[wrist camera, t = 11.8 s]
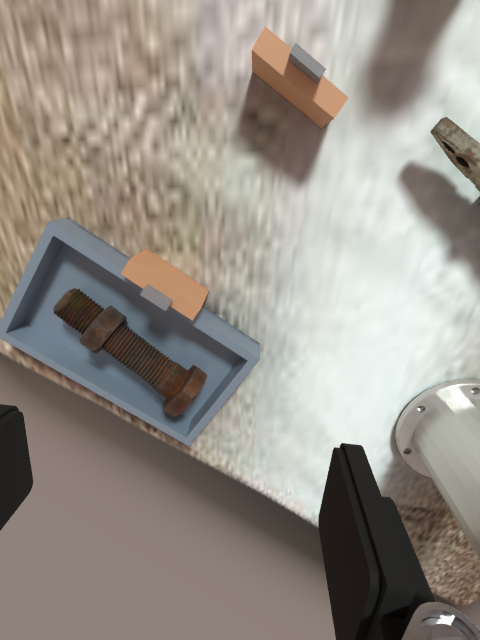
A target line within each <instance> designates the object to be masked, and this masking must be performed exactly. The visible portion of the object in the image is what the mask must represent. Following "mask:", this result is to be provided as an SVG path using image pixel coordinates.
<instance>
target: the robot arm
mask: <svg viewBox="0 0 480 640" xmlns="http://www.w3.org/2000/svg"><path fill="white" fill-rule="evenodd" d="M395 439H396V445H397V448H398V450H399V452H400V454H401V456H402V457H403V459H404V461H405V462H406V463H407V464H408V465H409V466H410V467H411V468H412V469H413V470H415V471H416V472H418V473H419V474H422V475H424V476H427V477H429V478H431V479H432V480H433V482H434V484H435V485H436V487H437V489H438V490H439V492H440V494H441V496H442V497H443V499H444V501H445V502H446V504H447V506H448V507H449V509H450V511H451V512H452V514H453V516H454V517H455V519H456V521H457V523H458V524H459V526H460V528H461V529H462V531H463V533H464V534H465V536H466V538H467V539H468V541H469V543H470V544H471V546H472V548H473V550H474V551H475V553H476V555H477V556H478V558H479V560H480V381H478V380H466V379H463V380H454V381H449V382H445V383H441V384H439V385H436V386H434V387H432V388H429V389H428V390H426V391H424V392H423V393H421V394H420V395H418V396H417V397H416V398H415V399H414V400H412V401H411V402H410V403H409V404H408V406H407V407H406V408H405V409H404V411H403V412H402V414H401V416H400V418H399V420H398V423H397V426H396V433H395ZM32 485H33V478H32V470H31V464H30V457H29V450H28V444H27V437H26V430H25V423H24V417H23V414H22V412H19V409H18V408H17V407H16V406H10V405H2V404H0V530H1V529H2V528H3V526H4V525H5V524H6V523H7V521H8V520H9V519H10V517H11V516H12V515H13V514H14V512H15V511H16V510H17V508H18V507H19V506H20V504H21V503H22V502H23V501H24V499H25V498H26V497H27V496H28V494H29V493H30V491H31V488H32ZM319 533H320V539H321V546H322V553H323V558H324V565H325V572H326V578H327V584H328V591H329V597H330V603H331V610H332V616H333V622H334V629H335V635H336V640H480V631H479V629H478V628H477V627H476V626H475V624H474V623H473V622H471V621H470V620H469V619H468V618H467V617H466V616H464V615H463V614H462V613H460V612H459V611H457V610H456V609H454V608H452V607H451V606H447V605H445V604H442V603H439V602H435V600H434V598H433V595H432V593H431V590H430V588H429V585H428V583H427V580H426V578H425V576H424V573H423V571H422V568H421V566H420V563H419V561H418V559H417V556H416V554H415V551H414V549H413V547H412V544H411V542H410V539H409V537H408V534H407V532H406V530H405V527H404V525H403V522H402V520H401V517H400V515H399V513H398V510H397V508H396V505H395V503H394V502H393V500H392V499H391V498H390V497H382V496H381V494H380V491H379V488H378V486H377V483H376V481H375V478H374V475H373V473H372V470H371V467H370V465H369V462H368V459H367V457H366V454H365V451H364V449H363V447H362V446H361V445H353V444H345V443H342V444H341V445H340V448H334V449H333V453H332V458H331V462H330V467H329V471H328V476H327V481H326V485H325V490H324V495H323V499H322V504H321V508H320V513H319Z"/></svg>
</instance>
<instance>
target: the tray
mask: <svg viewBox="0 0 480 640" xmlns="http://www.w3.org/2000/svg"><path fill="white" fill-rule="evenodd" d="M129 259H131V258H129V257H128V256H126V255H125V254H123V253H122V252H120V251H119V250H117V249H116V248H114V247H113V246H111V245H110V244H108V243H107V242H105V241H104V240H102V239H101V238H99V237H98V236H96V235H95V234H93V233H92V232H90V231H89V230H87V229H85V228H84V227H82V226H81V225H79V224H78V223H76V222H75V221H73V220H72V219H70V218H64V219H59V220H54V221H48V223H47V225H46V227H45V230H44V232H43V234H42V236H41V238H40V240H39V242H38V244H37V246H36V248H35V251H34V253H33V255H32V257H31V259H30V261H29V263H28V265H27V267H26V269H25V272H24V274H23V276H22V278H21V280H20V282H19V284H18V286H17V288H16V290H15V293H14V295H13V297H12V299H11V301H10V303H9V305H8V307H7V309H6V311H5V313H4V316H3V318H2V320H1V322H0V338H1V339H2V340H4V341H6V342H8V343H9V344H11V345H13V346H15V347H16V348H18V349H20V350H22V351H23V352H25V353H27V354H29V355H30V356H32V357H34V358H35V359H37V360H39V361H41V362H42V363H44V364H46V365H48V366H49V367H51V368H53V369H55V370H56V371H58V372H60V373H62V374H63V375H65V376H67V377H69V378H70V379H72V380H74V381H76V382H77V383H79V384H81V385H83V386H84V387H86V388H88V389H90V390H91V391H93V392H95V393H97V394H98V395H100V396H102V397H104V398H105V399H107V400H109V401H110V402H112V403H114V404H116V405H117V406H119V407H121V408H123V409H124V410H126V411H128V412H130V413H131V414H133V415H135V416H137V417H138V418H140V419H142V420H144V421H145V422H147V423H149V424H151V425H152V426H154V427H156V428H158V429H159V430H161V431H163V432H165V433H166V434H168V435H170V436H172V437H173V438H175V439H177V440H178V441H180V442H182V443H184V444H185V445H187V446H190V444H191V443H192V442H193V441H194V439H195V438H196V437H197V436H198V434H199V433H200V432H201V431H202V430H203V428H204V427H205V426H206V425H207V423H208V422H209V421H210V420H211V419H212V417H213V416H214V415H215V414H216V412H217V411H218V410H219V409H220V408H221V406H222V405H223V404H224V403H225V401H226V400H227V399H228V398H229V397H230V395H231V394H232V393H233V392H234V390H235V389H236V388H237V387H238V385H239V384H240V383H241V382H242V381H243V379H244V378H245V377H246V376H247V374H248V373H249V372H250V371H251V370H252V368H253V367H254V366H255V365H256V363H257V362H258V361H259V360H260V343H258V342H257V341H255V340H254V339H252V338H251V337H249V336H248V335H246V334H245V333H243V332H242V331H240V330H239V329H237V328H236V327H234V326H232V325H231V324H229V323H228V322H226V321H225V320H223V319H222V318H220V317H219V316H217V315H216V314H214V313H213V312H211V311H210V310H208V309H207V308H205V307H204V306H202V308H201V309H200V311H199V312H198V313H197V315H196V316H195V318H194V319H193V321H192V320H191V319H189V318H188V317H186V316H185V315H183V314H181V313H180V312H178V311H177V310H175V309H174V308H172V307H171V306H169V307H168V309H167V310H166V311H164V310H163V309H161V308H160V307H158V306H157V305H155V304H153V303H152V302H150V301H149V300H147V299H146V298H144V297H143V296H141V295H140V294H141V292H142V290H143V288H141V287H140V286H138V285H137V284H135V283H134V282H132V281H131V280H129V279H127V278H126V277H124V276H123V275H121V273H122V271H123V269H124V267H125V266H126V264H127V262H128V261H129ZM73 288H76V289H80V292H81V291H83V294H86V296H89V299H91V298H92V301H95V303H98V305H101V308H102V307H104V310H105V309H106V308H107V307H109V306H113V307H114V308H115V309H117V310H118V311H119V312H121V313H122V314H123V315H125V316H126V317H127V319H126V321H125V322H124V325H127V328H128V327H130V330H132V329H133V332H135V334H138V336H141V339H142V338H144V341H145V340H147V343H148V342H150V343H149V345H151V344H152V347H155V349H158V351H161V353H164V354H163V355H166V357H169V359H172V361H174V362H177V363H178V364H180V365H181V366H182V367H184V368H185V369H186V370H189V369H190V368H191V367H192V365H195V366H197V367H198V368H200V369H201V370H202V371H203V372H205V373H206V374H207V379H206V382H205V384H204V386H203V388H202V390H201V391H200V393H199V394H198V395H197V397H196V398H195V400H194V401H193V402H192V403H191V404H190V406H189V407H188V408H187V409H186V410H185V411H184V412H183V413H182V414H180V415H179V416H177V417H172V416H171V415H170V414H168V413H167V412H166V411H164V409H163V406H162V404H163V403H164V401H165V400H166V398H165V397H163V396H162V395H160V394H159V393H158V392H156V391H155V389H154V388H153V387H151V385H149V382H148V383H146V380H145V381H143V378H141V379H140V376H138V373H137V374H135V371H134V372H132V369H131V370H129V367H128V368H126V365H125V366H123V363H121V364H120V361H117V359H114V357H111V354H110V355H108V352H107V353H105V350H101V351H99V352H98V353H93V352H91V351H90V350H89V349H87V348H86V347H85V346H83V345H82V344H81V343H80V338H81V337H82V335H81V332H80V333H78V330H75V328H72V326H69V323H68V324H67V323H66V321H63V319H60V317H57V315H55V314H54V309H53V308H54V306H55V305H56V303H57V302H58V301H59V300H60V299H61V298H62V296H63V295H64V294H65V293H66V292H67V291H69V290H72V289H73ZM102 349H103V348H102Z"/></svg>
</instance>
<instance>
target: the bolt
mask: <svg viewBox="0 0 480 640" xmlns="http://www.w3.org/2000/svg"><path fill="white" fill-rule="evenodd" d="M53 309H54V314H55V315H57V317H60V319H63V321H66V323H67V324H68V323H69V326H72V328H75V330H78V333H80V332H81V335H82V337H81V338H80V343H81V344H82V345H83V346H85V347H86V348H87V349H89V350H90V351H91V352H93V353H98V352H99V351H101V350H105V353H107V352H108V355H110V354H111V357H114V359H117V361H120V364H121V363H123V366H125V365H126V368H128V367H129V370H131V369H132V372H134V371H135V374H137V373H138V376H140V379H141V378H143V381H145V380H146V383H148V382H149V385H151V387H153V388H154V389H155V391H156V392H158V393H159V394H160V395H162V396H163V397H165V398H166V400H165V401H164V403H163V404H162V406H163V409H164V411H166V412H167V413H168V414H170V415H171V416H172V417H177V416H179V415H180V414H182V413H183V412H184V411H185V410H186V409H187V408H188V407H189V406H190V404H191V403H192V402H193V401H194V400H195V398H196V397H197V395H198V394H199V393H200V391H201V390H202V388H203V386H204V384H205V382H206V379H207V374H206V373H205V372H203V371H202V370H201V369H200V368H198V367H197V366H195V365H192V367H191V368H190V369H189V370H186V369H185V368H184V367H182V366H181V365H180V364H178V363H177V362H174V361H172V359H169V357H166V355H163V354H164V353H161V351H158V349H155V347H152V344H151V345H149V343H150V342H148V343H147V340H145V341H144V338H142V339H141V336H138V334H135V332H133V329H132V330H130V327H128V328H127V325H124V322H125V321H126V319H127V317H126V316H125V315H123V314H122V313H121V312H119V311H118V310H117V309H115V308H114V307H113V306H109V307H107V308H106V309H105V310H104V307H102V308H101V305H98V303H95V301H92V298H91V299H89V296H86V294H83V291H81V292H80V289H76V288H73V289H72V290H69V291H67V292H66V293H65V294H64V295H63V296H62V298H61V299H60V300H59V301H58V302H57V303H56V305H55V306H54V308H53ZM102 348H103V349H102Z"/></svg>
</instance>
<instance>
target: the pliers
mask: <svg viewBox="0 0 480 640" xmlns="http://www.w3.org/2000/svg"><path fill="white" fill-rule="evenodd" d="M431 134H432V135H433V136H434V138H435V139H436V141H437V142H438V144H439V145H440V147H441V148H442V149H443V150H444V152H445V153H446V155H447V156H448V158H449V159H450V160H451V162H452V163H453V164H454V165H455V166H456V167H457V168H458V169H459V170H460V171H461V172H462V173H463V174H464V176H465V177H466V178H469V179H470V180H471V181H472V183H473V184H474V185H475V187H476V188H477V189H478V190H479V191H480V144H479V143H478V142H477V141H476V140H474V139H473V138H472V137H471V136H470V135H468V134H467V133H466V132H465V131H464V130H462V129H461V128H460V127H459V126H457V125H456V124H455V123H454V122H452V121H451V120H450V119H448V118H447V117H445V118H444V119H443V118H442V119H441V120H440V121H439V122H438V123H437V124H436V125H435V127H434V128H433V129H432V130H431ZM478 203H479V204H480V197H479V199H478Z"/></svg>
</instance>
